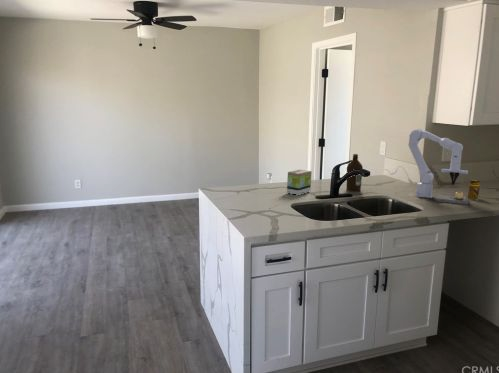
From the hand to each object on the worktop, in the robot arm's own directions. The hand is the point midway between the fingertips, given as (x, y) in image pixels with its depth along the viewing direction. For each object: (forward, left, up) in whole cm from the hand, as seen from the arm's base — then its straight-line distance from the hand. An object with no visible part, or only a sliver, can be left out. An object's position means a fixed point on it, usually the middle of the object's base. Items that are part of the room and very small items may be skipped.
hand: (453, 184), depth 264 cm
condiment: (+12, +9, -10) cm, 18 cm away
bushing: (+4, -4, -10) cm, 11 cm away
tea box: (-93, -22, -10) cm, 96 cm away
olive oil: (-61, +2, -10) cm, 62 cm away
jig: (0, -4, -10) cm, 11 cm away
